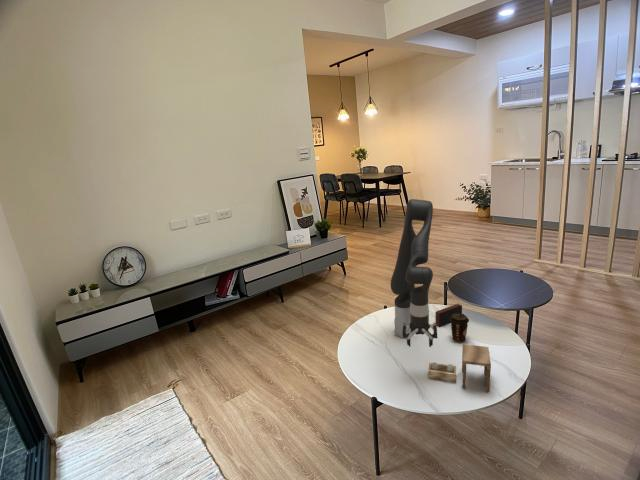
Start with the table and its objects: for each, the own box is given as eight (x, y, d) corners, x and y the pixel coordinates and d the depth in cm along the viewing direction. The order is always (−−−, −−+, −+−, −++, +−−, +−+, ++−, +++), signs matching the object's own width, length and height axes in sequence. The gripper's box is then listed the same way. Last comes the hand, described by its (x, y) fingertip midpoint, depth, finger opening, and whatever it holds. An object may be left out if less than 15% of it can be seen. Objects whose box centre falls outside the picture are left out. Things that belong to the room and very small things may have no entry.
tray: (428, 378, 152) (428, 367, 151) (429, 370, 158) (429, 359, 156) (455, 382, 148) (456, 371, 147) (455, 373, 154) (456, 362, 152)
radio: (457, 316, 200) (458, 292, 195) (461, 319, 197) (462, 294, 193) (432, 326, 192) (432, 301, 188) (436, 328, 190) (436, 303, 185)
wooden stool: (462, 388, 145) (463, 360, 141) (462, 370, 155) (462, 344, 152) (489, 392, 141) (490, 364, 137) (487, 373, 152) (488, 347, 148)
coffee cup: (465, 334, 182) (466, 312, 178) (470, 344, 174) (471, 320, 170) (448, 335, 183) (448, 312, 179) (452, 344, 175) (452, 320, 171)
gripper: (435, 307, 150) (435, 341, 155) (401, 307, 152) (402, 340, 157) (438, 316, 143) (438, 351, 147) (402, 316, 145) (403, 350, 150)
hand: (419, 345), depth 152 cm, fingers open, 8 cm apart
